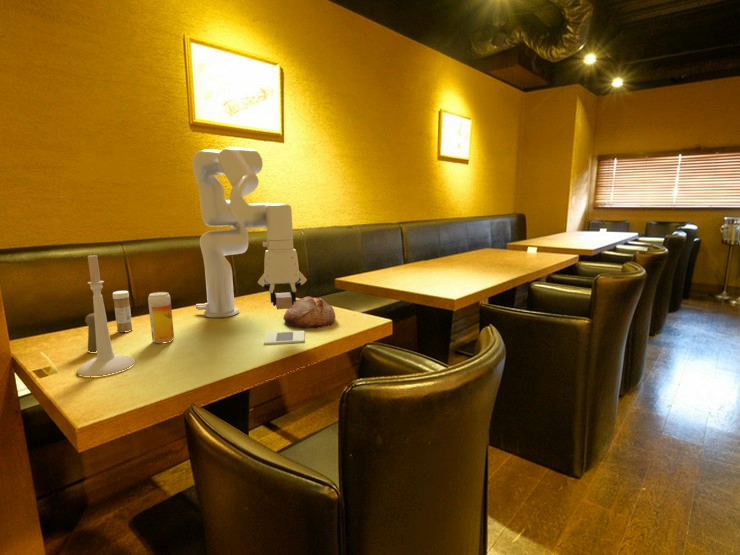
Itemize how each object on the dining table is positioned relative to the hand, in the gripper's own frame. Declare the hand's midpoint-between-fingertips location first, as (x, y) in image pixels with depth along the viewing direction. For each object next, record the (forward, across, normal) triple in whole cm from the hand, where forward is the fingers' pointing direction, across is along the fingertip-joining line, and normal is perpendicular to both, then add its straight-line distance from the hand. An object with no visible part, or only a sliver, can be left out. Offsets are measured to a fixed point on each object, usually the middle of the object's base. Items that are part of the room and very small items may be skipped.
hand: (283, 303), depth 131 cm
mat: (+11, 0, 0) cm, 11 cm away
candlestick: (+11, -45, -16) cm, 49 cm away
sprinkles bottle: (+11, -53, +17) cm, 57 cm away
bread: (+11, +8, +17) cm, 22 cm away
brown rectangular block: (+1, 0, 0) cm, 1 cm away
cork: (+11, -53, -1) cm, 54 cm away
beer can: (+11, -37, +4) cm, 39 cm away
